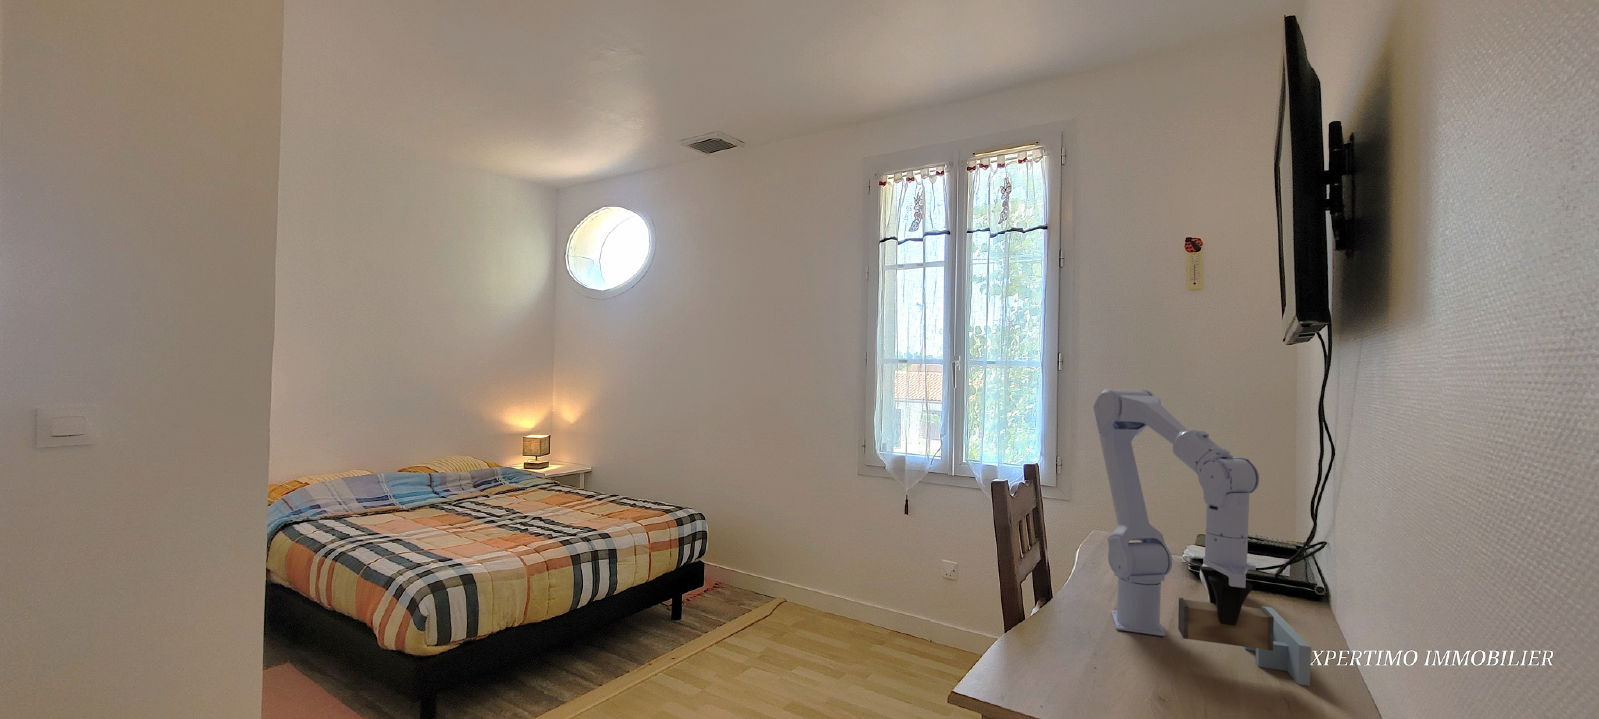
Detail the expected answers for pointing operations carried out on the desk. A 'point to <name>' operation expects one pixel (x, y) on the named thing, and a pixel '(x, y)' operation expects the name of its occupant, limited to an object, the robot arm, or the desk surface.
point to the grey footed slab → (1286, 651)
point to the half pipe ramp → (1205, 625)
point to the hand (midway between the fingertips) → (1223, 618)
